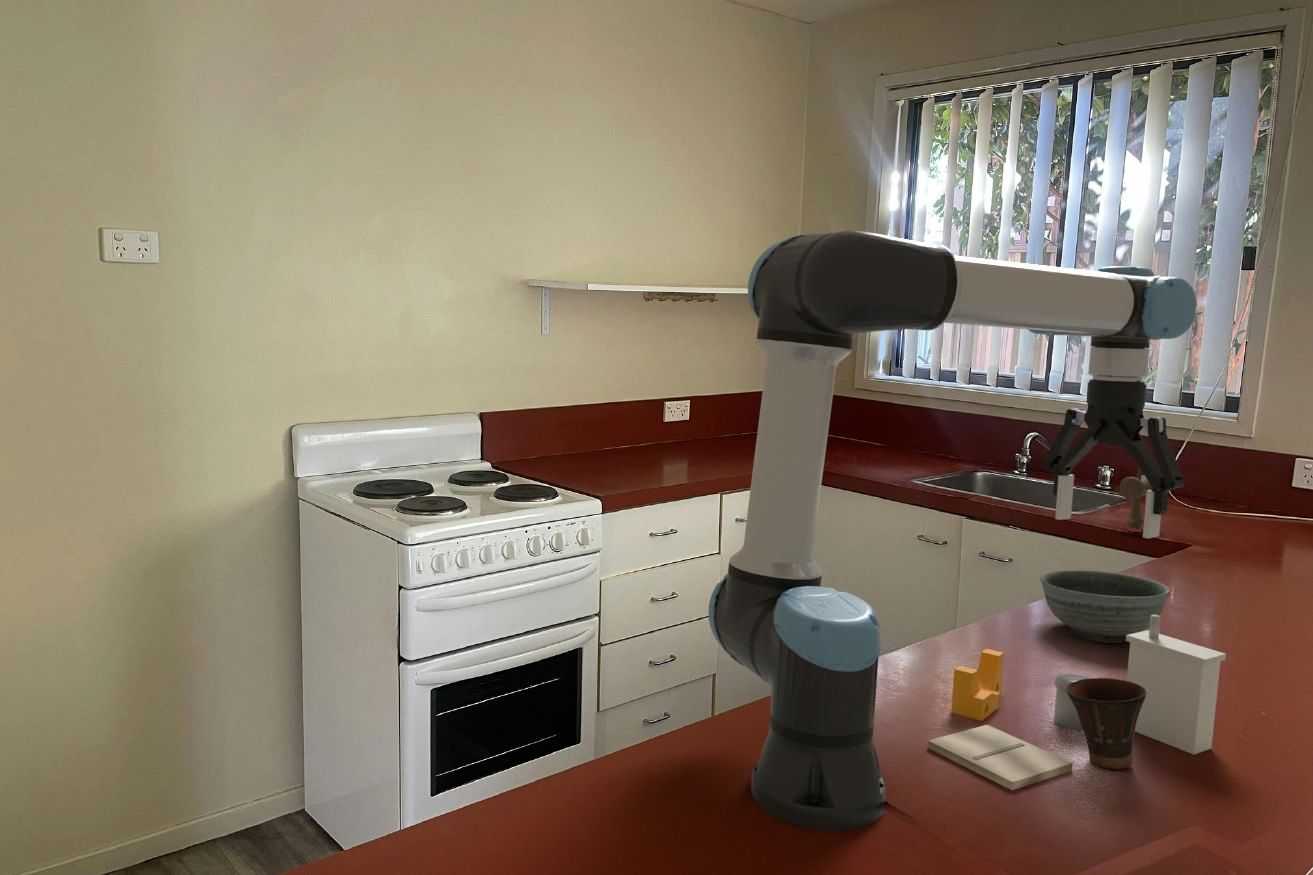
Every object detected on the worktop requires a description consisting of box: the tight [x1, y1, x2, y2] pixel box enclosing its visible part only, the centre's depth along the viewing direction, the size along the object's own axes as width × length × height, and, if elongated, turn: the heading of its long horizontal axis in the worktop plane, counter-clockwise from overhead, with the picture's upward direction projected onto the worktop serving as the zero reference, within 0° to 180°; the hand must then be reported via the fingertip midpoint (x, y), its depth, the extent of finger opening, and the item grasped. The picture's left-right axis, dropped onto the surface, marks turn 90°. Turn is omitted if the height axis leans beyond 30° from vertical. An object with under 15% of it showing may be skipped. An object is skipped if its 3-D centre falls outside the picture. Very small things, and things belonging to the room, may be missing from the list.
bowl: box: [1039, 569, 1171, 643], centre depth 178 cm, size 21×21×10 cm
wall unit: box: [1125, 615, 1227, 756], centre depth 134 cm, size 5×11×16 cm, turn 32°
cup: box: [1066, 677, 1146, 770], centre depth 126 cm, size 9×9×10 cm
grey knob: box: [1053, 672, 1092, 731], centre depth 138 cm, size 6×6×6 cm
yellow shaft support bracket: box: [950, 648, 1005, 722], centre depth 144 cm, size 12×4×6 cm, turn 141°
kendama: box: [1119, 466, 1152, 529], centre depth 262 cm, size 6×10×20 cm, turn 133°
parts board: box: [927, 724, 1073, 791], centre depth 126 cm, size 11×13×1 cm
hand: (1105, 527), depth 144 cm, fingers open, 13 cm apart
